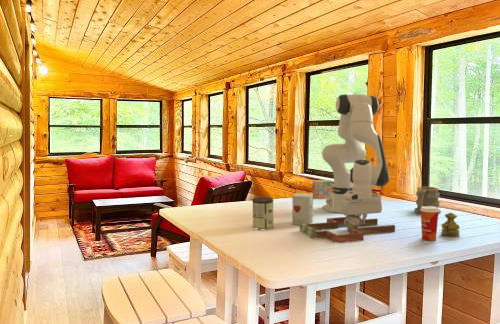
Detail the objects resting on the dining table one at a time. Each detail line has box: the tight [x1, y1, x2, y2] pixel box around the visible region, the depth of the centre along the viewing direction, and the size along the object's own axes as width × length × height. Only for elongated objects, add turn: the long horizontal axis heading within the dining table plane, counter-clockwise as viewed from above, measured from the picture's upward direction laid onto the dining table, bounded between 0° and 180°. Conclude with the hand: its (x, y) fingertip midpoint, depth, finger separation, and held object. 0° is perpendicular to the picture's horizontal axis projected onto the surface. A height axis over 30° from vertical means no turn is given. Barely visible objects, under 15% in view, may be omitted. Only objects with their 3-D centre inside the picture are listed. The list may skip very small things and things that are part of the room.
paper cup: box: [420, 206, 440, 242], centre depth 184 cm, size 8×8×14 cm
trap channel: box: [299, 216, 396, 243], centre depth 199 cm, size 32×42×4 cm
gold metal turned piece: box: [440, 212, 461, 238], centre depth 191 cm, size 7×7×10 cm
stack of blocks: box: [312, 179, 334, 200], centre depth 289 cm, size 21×6×12 cm, turn 92°
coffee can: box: [251, 197, 274, 230], centre depth 207 cm, size 10×10×14 cm
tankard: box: [414, 186, 441, 215], centre depth 238 cm, size 20×13×15 cm, turn 134°
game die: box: [342, 215, 362, 232], centre depth 200 cm, size 9×8×10 cm
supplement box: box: [291, 192, 314, 226], centre depth 215 cm, size 9×9×15 cm
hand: (361, 223), depth 201 cm, fingers closed
